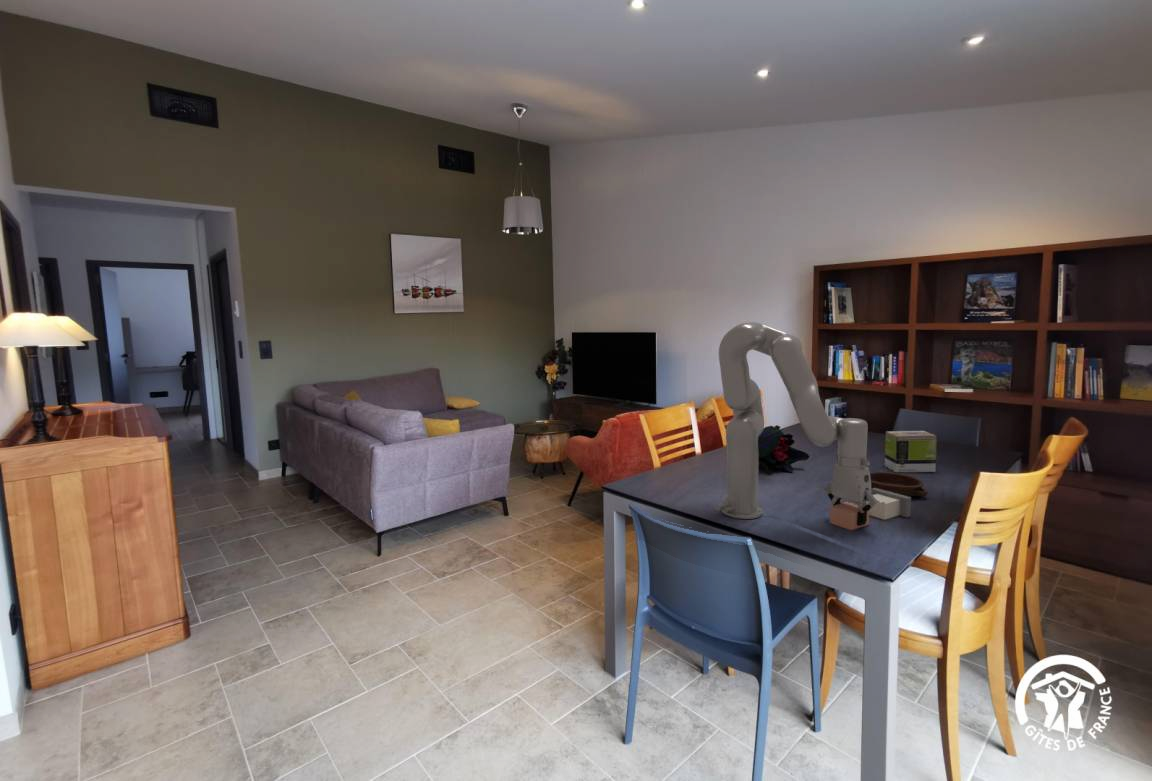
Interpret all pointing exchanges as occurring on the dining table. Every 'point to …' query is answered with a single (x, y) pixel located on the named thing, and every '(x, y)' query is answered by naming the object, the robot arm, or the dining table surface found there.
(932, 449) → the tea box
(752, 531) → the dining table surface
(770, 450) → the decorative plant
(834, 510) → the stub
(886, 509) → the white block
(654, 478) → the dining table surface
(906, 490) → the dish
